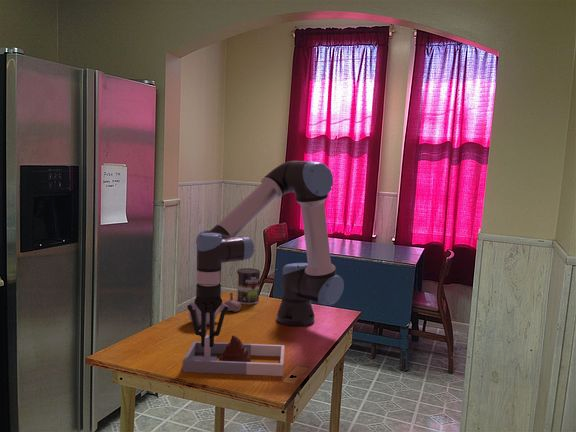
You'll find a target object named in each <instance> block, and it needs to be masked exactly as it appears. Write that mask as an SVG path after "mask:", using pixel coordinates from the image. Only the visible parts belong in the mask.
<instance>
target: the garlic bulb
mask: <svg viewBox="0 0 576 432" xmlns="http://www.w3.org/2000/svg"><path fill="white" fill-rule="evenodd" d="M229 296H230V298H229V300H226V301H225V302H223V303H224V304H225V305H229V308H228V310H227V311H226V312H234V313H237V312H239V311H241V309H242V304H240V303H239V302H237V301H236V300H234V297H233V291H231V292H230V293H229Z"/></svg>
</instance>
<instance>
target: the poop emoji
mask: <svg viewBox="0 0 576 432" xmlns="http://www.w3.org/2000/svg"><path fill="white" fill-rule="evenodd" d="M227 343H228V344H227V346H226V349H225V350H224V351H223V354H220V355H221V356H220V357H219V359H218V361H235V362H252V359H251V358H252V357H251V355H248V350H247V348H245V347H244V345H243V344H244V343H242V341H241V339H240V338H239V337H238V336H236V335H234V334H233V335H231V338H230V342H227Z"/></svg>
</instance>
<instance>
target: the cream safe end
mask: <svg viewBox="0 0 576 432" xmlns="http://www.w3.org/2000/svg"><path fill="white" fill-rule="evenodd" d="M250 344H251V355H250V356H257V357H258V356H260V357H261V356H263V357H280V360H279V362H255V361H253V362H252V361H251V362H247V364H246V376H247V375H251V376H267V377H268V376H273V377H283V376H284V368H285V367H284V365H285V345H284V344H283V345H282V344H266V343H265V344H264V343H263V344H262V343H250Z"/></svg>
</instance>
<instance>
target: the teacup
mask: <svg viewBox="0 0 576 432" xmlns="http://www.w3.org/2000/svg"><path fill="white" fill-rule="evenodd" d="M193 302H194V301H191V302H190V303H193ZM190 303H188V305H189V304H190ZM221 312H222V311H221V306H220V307H219V308H218V309H217V310H216V312H215V320H216V318H217V315H218V314H221ZM196 313H197V317H198V321H199V326H201V311H200V310H199V308H198V307H197V306H196ZM188 316H189V320H190V321H191V322H192V323H193V321H192V317H191V313H190V311H189V310H188ZM207 325H210V316H209V313H207V321H206V326H207Z"/></svg>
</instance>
